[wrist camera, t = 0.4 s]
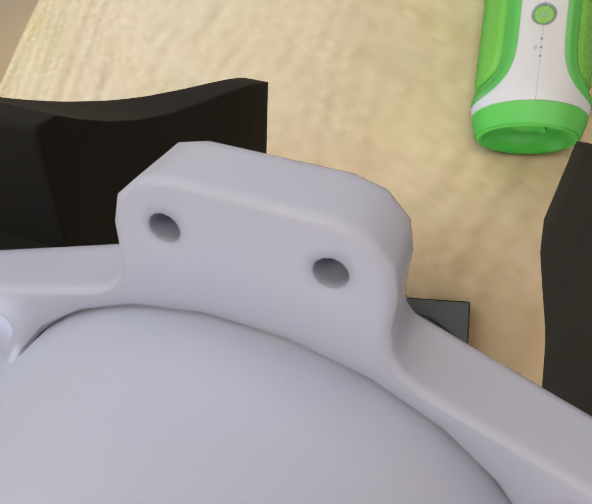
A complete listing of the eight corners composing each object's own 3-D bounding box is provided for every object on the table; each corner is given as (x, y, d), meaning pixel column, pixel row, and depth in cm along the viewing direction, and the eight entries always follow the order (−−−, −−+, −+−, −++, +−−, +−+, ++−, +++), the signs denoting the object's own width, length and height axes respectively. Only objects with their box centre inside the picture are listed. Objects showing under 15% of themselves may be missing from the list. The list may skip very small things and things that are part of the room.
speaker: (574, 160, 37) (603, 124, 30) (465, 154, 39) (469, 120, 32) (597, -78, 39) (631, -167, 31) (490, -71, 41) (499, -153, 33)
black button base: (463, 430, 38) (464, 440, 35) (351, 415, 40) (343, 423, 37) (469, 302, 38) (471, 301, 35) (358, 294, 41) (351, 293, 38)
